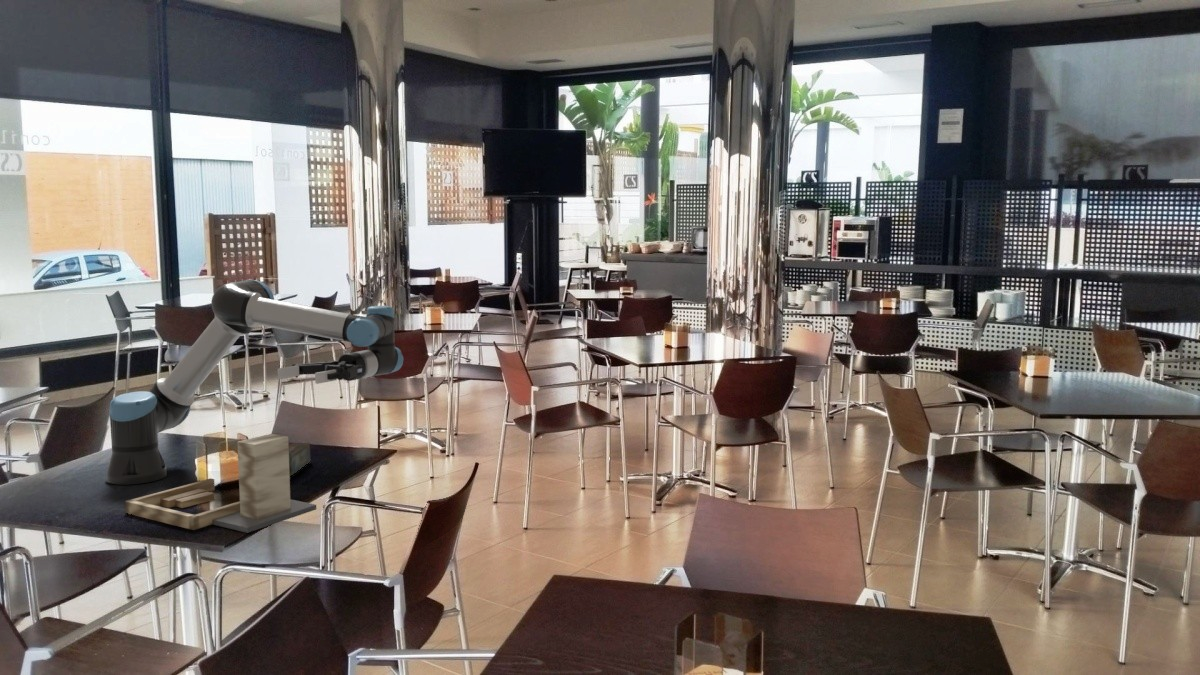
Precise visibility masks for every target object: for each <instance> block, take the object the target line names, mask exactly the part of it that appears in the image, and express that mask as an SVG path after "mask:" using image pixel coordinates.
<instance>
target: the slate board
mask: <svg viewBox="0 0 1200 675" xmlns="http://www.w3.org/2000/svg"><path fill="white" fill-rule="evenodd" d="M290 503H291V509H288V510H284V511H281V512H278V513H275V514H272V515H269V516H266V517H263V518H260V519H254V518H250V517H246V516H241V515H240V511H238V512H235V513H232V514H229V515H225V516H222V517H219V518H216V519H213V524H212V525H213V526H216V527H217V526H218V527H221V528H227V529H228V530H229V529H230V530H235V531H238V532H242V533H247V534H248V533H251V532H255V531H257V530H260V529H262V528H266V527H268V526H272V525H275V524H278V523H280V522H284V521H286V520H289V519H293V518H295V517H299V516H302V515H304V514H307V513H310V512H313V511H316V510H317V504H315V503H310V502H305V501H300V500H296V499H292V498H290Z"/></svg>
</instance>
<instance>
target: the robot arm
mask: <svg viewBox="0 0 1200 675" xmlns="http://www.w3.org/2000/svg"><path fill="white" fill-rule="evenodd" d="M211 309H212V312H213V314H214V318H213V319H212V321H211V322H210V323H209V324H208V325H207V327H206V328H205V329H204V330H203V332H202V333H201V334H200V335H199V337H198V338H197V339H196V340H195V341H194V343H193V344H192V345H191V347H190V348H189V349H188V350H187V352H186V353H185V354H184V356H182V358H181V359H180V361H179V362H178V363H177V364H176V366H175V367H174V368H173V370H171V372H170V373H169V375H168V376H167V377H161V378H159V379H157V381H156V382H154V384H153V386H151V388H150V390H148V391H146V390H141V391H138V390H137V391H131V392H129V393H128V392H127V393H126V392H125V393H121V394H119V395H117V396H115V397H114V398H113V399H112V400H111V401H110V403H109V413H108V416H109V421H110V439H111V440H110V441H111V456H110V459H109V462H108V466H107V470H106V472H105V475H106V476H105V477H106V482H107V483H108V484H113V485H119V486H121V485H123V486H125V485H126V486H127V485H141V484H147V483H151V482H152V483H153V482H155V481H159V480H161V479H163V478H165V477H167V475H168V474H167V473H168V472H167V465H166V462H165V461H164V459H163V458H164V457H163V456H162V453H161V452H160V448H159V433H161V432H164V431H166V430H170V429H173V428H175V427H177V426H180V424H182V423H183V422H185V420H186V419H187V417H188V416H189V414H190V412H191V406H193V404H194V402H195V398H194V394H195V393H196V391H197V390H198V389H199V388H200V386H202V384H203V383H204V382H205V380H206V379H207V378H208V376H209V375H210V374H211V373H212V371H213V370H214V369H215V368H216V367H217V365H218V364H219V363H220V362H221V360H222V359H223V358H224V357H225V355H226V354H227V352H229V350H230V349H231V348H232V347H233V346H234V344H235V343H236V342H237V340H238V339H239V338H240V337H241V336H244V335H250V333H251V331H252V330H253V329H254V328H255V327H256V326H262V327H268V328H272V329H279V330H282V331H289V332H293V333H299V334H305V335H310V336H316V337H321V338H325V339H330V340H331V339H332V340H337V341H342V342H347V343H350V344H352V345H353V346H355V347H358V348H365V347H366V348H367V349H365V350H359V351H355V352H347V353H344V354H342V355H340V357H339V358H338V360H333V361H332V360H331V361H327V360H325V361H320V362H309V363H292V365H290V366H285V367H284V366H283V367H279V368H277V379H278V380H282V379H288V378H293V377H295V378H298V377H300V376H301V375H314V377H315V378H314V380H315V382H314V383H315V384H317V385H318V384H325V383H329V382H333V381H337V380H338V381H342V380H344V381H346V382H347V381H349V382H352V381H357V380H361V379H362V380H364V381H365V380H367V378H370V377H375V376H376V377H377V376H382V375H389V374H392V373H395V372H397V371H399V370H400V369H401V368H402V366H403V364H404V355H403V352H402V351H401V349H400V348H399V347H396V344H395V340H396V339H395V319H396V318H395V313H394V308H393V307H392V306H388V305H371V306H369V307H367V309H366V315H365V316H362V315H358V314H357V315H356V314H351V313H346V312H340V311H336V310H330V309H324V308H319V307H314V306H311V305H309V306H308V305H303V304H298V303H293V302H289V301H288V302H287V301H283V300H277V299H275V297H274V294H273V291H272V289H271V288H270V287H269V286H268V285H267V284H265V283H264V282H262V281H259V280H255V279H246V280H241V281H234V282H232V281H231V282H228V283H224V284H222V285H221V286H219V287H218V288H217V289H216V290H215V291H214V293H213V295H212V297H211Z"/></svg>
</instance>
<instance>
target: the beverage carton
mask: <svg viewBox="0 0 1200 675" xmlns="http://www.w3.org/2000/svg"><path fill="white" fill-rule="evenodd" d="M310 444H311V443H309V442H305V443H299V442H295V443H290V442H288V446H289V475H290V476H291V475H293V474H294V473H296V472H297V471H298V470H300V469H301V468H302V467H304V466H305V465H306V464H308V463H309V462H310V461H312V459H311V447H310ZM310 463H311V462H310ZM310 463H309V464H310ZM309 464H308V465H309ZM306 466H307V465H306ZM306 466H305V467H306ZM305 467H304V468H305ZM302 469H303V468H302ZM302 469H301V470H302ZM301 470H300V471H301ZM298 472H299V471H298ZM298 472H297V473H298ZM297 473H296V474H297ZM293 476H294V475H293Z"/></svg>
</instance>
